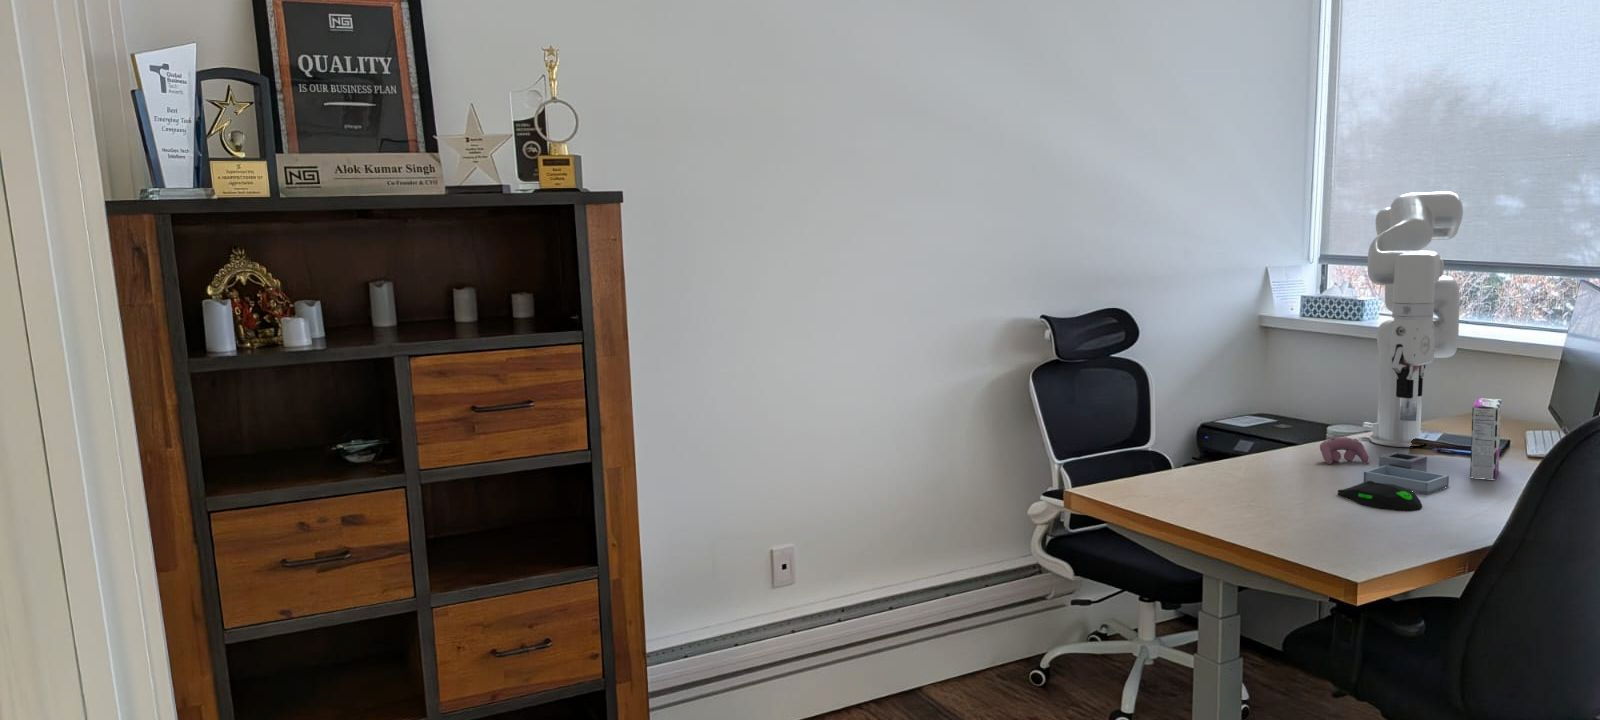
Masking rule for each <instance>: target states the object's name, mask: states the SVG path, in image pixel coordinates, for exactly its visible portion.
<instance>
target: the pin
mask: <svg viewBox="0 0 1600 720" xmlns="http://www.w3.org/2000/svg"><path fill="white" fill-rule="evenodd" d="M1402 364H1404V365H1409V363H1406V362H1403V361H1402ZM1419 366H1422V365H1418V366H1413V370H1412V379H1411V380H1414V383H1413V398H1411V399H1409V398H1400V420H1403V421H1417V404H1418V381H1419ZM1403 368H1405V367H1403ZM1405 369H1406V371H1407V368H1405Z"/></svg>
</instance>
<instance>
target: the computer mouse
mask: <svg viewBox="0 0 1600 720" xmlns="http://www.w3.org/2000/svg"><path fill="white" fill-rule="evenodd" d="M1337 496H1339V497H1341V498H1344V499H1346V498H1347V500H1350V501H1351V502H1354V503H1356V504H1357V505H1360V506H1363V507H1367V508H1370V509H1376V510H1381V511H1382V510H1384V511H1393V512H1415V511H1416V512H1417V510H1418V511H1420V510H1422V509H1423V504H1422V502H1421V500H1420V499H1419V497H1418V496H1417V493H1416V492H1412V491H1410V490H1409V489H1406V488H1403V487H1400V486H1397V485H1393V484H1382V483H1375V482H1373V481H1367V482H1365V483H1363V482H1361V483H1359V484H1356V485H1354V486H1353V485H1352V486H1351V487H1350V486H1349V487H1347V488H1344V489H1337ZM1421 508H1422V509H1421Z"/></svg>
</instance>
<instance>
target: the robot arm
mask: <svg viewBox="0 0 1600 720" xmlns="http://www.w3.org/2000/svg"><path fill="white" fill-rule="evenodd" d="M1463 214H1464V206H1463V203H1462V200H1461V198H1460V197H1459V195H1458V194H1457V193H1454V192H1452V191H1432V192H1431V191H1430V192H1429V191H1428V192H1409V193H1405V194H1402V195H1400V196H1397V197H1396V198H1395V199H1394V200H1393V201H1392V203H1391V205H1390V206H1389V207H1385V208H1382V209H1381V210H1379V211H1378V212H1377V214H1376V217H1375V230H1376V234H1377V236H1376V237H1375V238H1374V239H1372V241H1371V243H1370V245H1369V248H1368V253H1367V275H1368V279H1369V280H1370V281H1371V282H1372V283H1373V284H1375V285H1377V286H1378V285H1379V286H1384V303H1385V306H1386V308H1387V310H1388V311H1389V312H1391V313H1392V314H1391V318H1392V319H1389V320H1386V321H1383V322H1382V323H1381V324H1380V325H1378V328H1377V330H1376V342H1377V350H1378V362H1379V367H1378V368H1379V369H1378V370H1379V375H1378V377H1379V378H1378V398H1377V399H1378V400H1377V401H1378V403H1377V422H1374V423H1373V422H1369V421H1363V423H1362V431H1365V432H1366V431H1368V432H1371V433H1372V435H1370V436H1369V441H1370V442H1371V443H1373V444H1376V445H1381V446H1387V447H1388V446H1389V447H1393V448H1394V447H1395V448H1396V447H1397V448H1411V447H1410V446H1411V444H1412V443H1411V441H1412V440H1413V439H1415V438H1416V437H1419V436H1420V437H1421V425H1422V424H1421V423H1422V422H1421V420H1422V399H1423V387H1424V386H1423V384H1424V383H1423V382H1424V376H1425V369H1426V366H1427V365H1428V364H1431V363H1432V362H1433V361H1434V360H1435V359H1437V358H1438V359H1439V358H1440V359H1442V358H1443V359H1445V358H1446V359H1447V358H1451V357H1453V356H1454V355H1455V354H1456V352H1457V349H1458V346H1459V333H1460V332H1459V331H1460V330H1459V329H1460V327H1459V326H1460V300H1461V299H1460V295H1461V294H1460V287H1459V284H1458V281H1457V280H1456V279H1455V278H1454V277H1452V276H1450V275H1444V270H1445V269H1444V268H1445V266H1444V265H1445V264H1444V262H1445V261H1444V259H1443V258H1442V257H1441V255H1440V254H1439V253H1438V252H1437V251H1434V250H1423V249H1425V248H1426V247H1427V246H1428V245H1429V244H1430V243H1432V241H1446V240H1451V239H1453V238H1455V236H1456V235H1457V234H1458V231H1459V230H1460V229H1459V228H1460V226H1461V223H1462V220H1463ZM1434 315H1435V316H1436V317H1437V318H1438V319H1434ZM1402 361H1403V362H1406V363H1409V365H1404V364H1402ZM1418 365H1422V366H1419V381H1418V404H1417V421H1403V420H1400V398H1409V399H1411V398H1413V383H1414V380H1411V379H1412V370H1413V366H1418ZM1403 367H1405V368H1407V371H1406V369H1405V368H1403Z"/></svg>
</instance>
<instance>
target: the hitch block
mask: <svg viewBox="0 0 1600 720" xmlns="http://www.w3.org/2000/svg"><path fill="white" fill-rule="evenodd" d="M1427 462H1428V457H1427V456H1424V455H1418V454H1412V453H1411V454H1410V453H1406V452H1405V453H1404V452H1398V451H1393V452H1390V453H1387V454H1386V453H1385V454H1382V455H1378V467H1381V466H1384V465H1388V466H1394V467H1400V468H1406V469H1412V470H1418V471H1424V472H1427V465H1428V463H1427Z"/></svg>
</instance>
